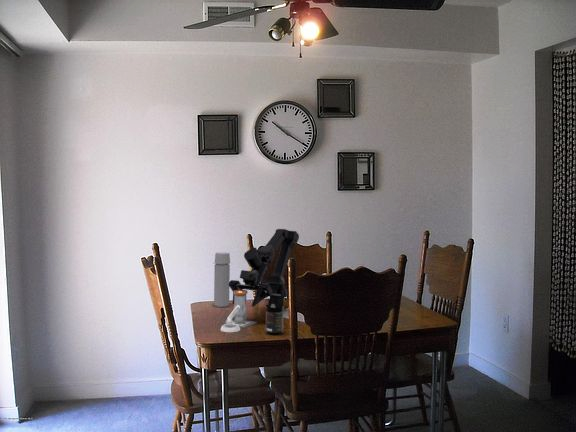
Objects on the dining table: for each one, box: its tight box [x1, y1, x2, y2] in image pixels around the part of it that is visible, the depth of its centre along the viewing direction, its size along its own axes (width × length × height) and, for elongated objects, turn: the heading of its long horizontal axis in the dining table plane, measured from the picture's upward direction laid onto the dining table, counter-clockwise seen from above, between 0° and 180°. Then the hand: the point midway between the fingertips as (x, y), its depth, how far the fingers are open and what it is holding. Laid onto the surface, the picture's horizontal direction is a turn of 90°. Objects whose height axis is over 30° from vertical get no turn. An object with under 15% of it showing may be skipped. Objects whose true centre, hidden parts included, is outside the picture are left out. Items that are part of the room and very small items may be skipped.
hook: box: [220, 305, 241, 333], centre depth 205 cm, size 8×12×7 cm
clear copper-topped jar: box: [233, 289, 248, 324], centre depth 215 cm, size 6×6×13 cm
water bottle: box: [213, 251, 231, 308], centre depth 250 cm, size 9×8×25 cm
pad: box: [222, 319, 258, 329], centre depth 215 cm, size 10×10×1 cm
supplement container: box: [265, 304, 284, 336], centre depth 202 cm, size 7×7×10 cm
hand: (242, 305), depth 217 cm, fingers open, 9 cm apart
